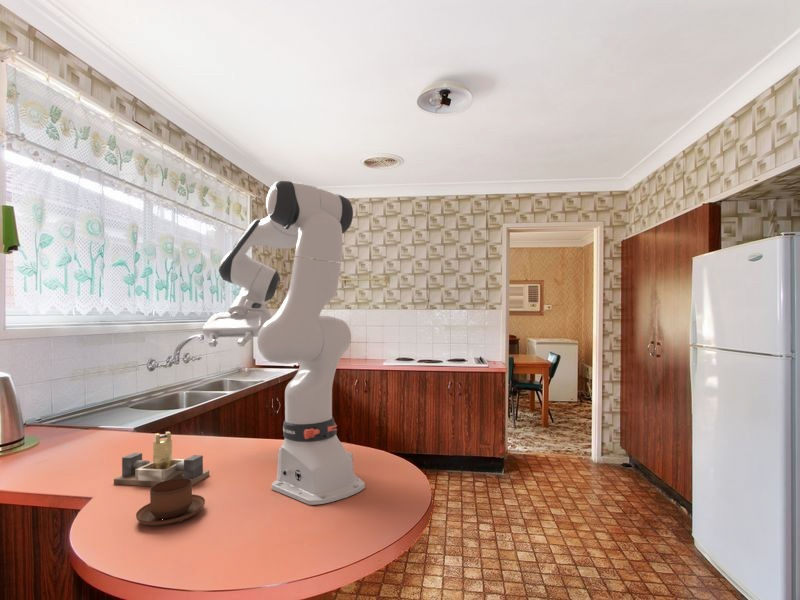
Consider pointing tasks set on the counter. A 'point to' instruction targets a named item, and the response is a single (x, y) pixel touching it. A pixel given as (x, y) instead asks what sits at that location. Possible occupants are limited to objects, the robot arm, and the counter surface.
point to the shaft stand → (159, 471)
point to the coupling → (162, 451)
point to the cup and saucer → (170, 503)
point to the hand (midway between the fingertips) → (226, 345)
